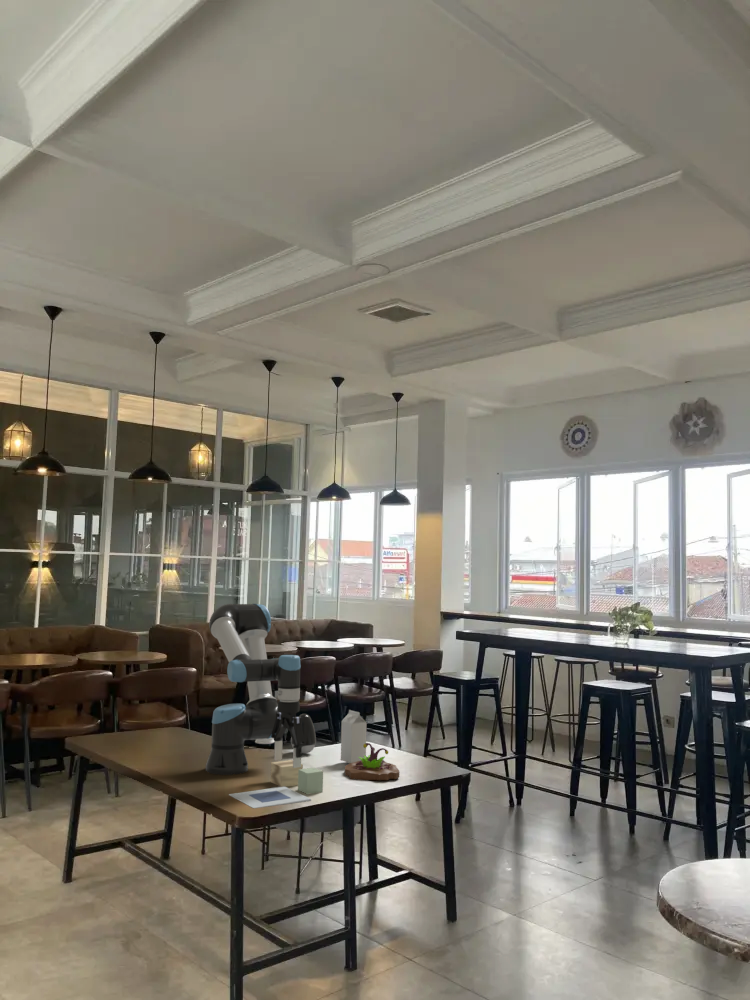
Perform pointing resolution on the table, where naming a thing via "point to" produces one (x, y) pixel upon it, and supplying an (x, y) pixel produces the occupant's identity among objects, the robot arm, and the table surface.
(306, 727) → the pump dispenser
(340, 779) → the table surface
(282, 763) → the maple block
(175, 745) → the table surface
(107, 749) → the table surface
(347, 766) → the plant
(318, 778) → the sage block
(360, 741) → the milk carton
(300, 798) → the blueprint mat
